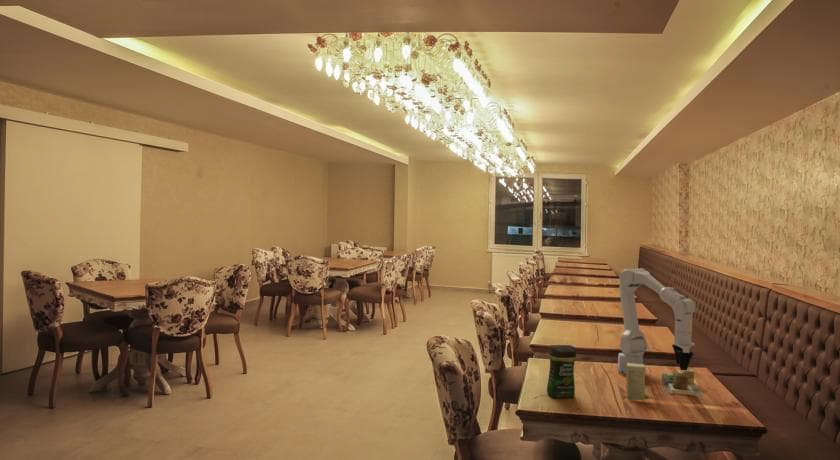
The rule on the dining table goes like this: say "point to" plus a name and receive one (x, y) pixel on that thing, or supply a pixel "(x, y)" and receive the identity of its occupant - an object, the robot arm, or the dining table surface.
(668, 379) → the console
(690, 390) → the grey compartment tray
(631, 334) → the robot arm
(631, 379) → the skincare box
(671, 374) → the button
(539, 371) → the dining table surface
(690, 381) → the beech block
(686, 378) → the walnut block
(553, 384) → the coffee jar
